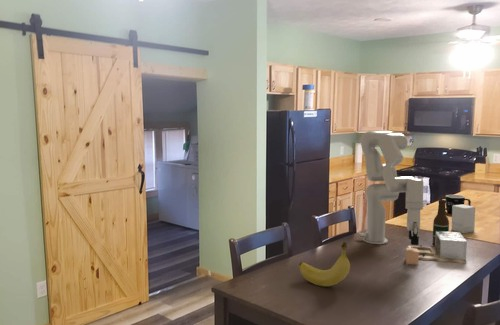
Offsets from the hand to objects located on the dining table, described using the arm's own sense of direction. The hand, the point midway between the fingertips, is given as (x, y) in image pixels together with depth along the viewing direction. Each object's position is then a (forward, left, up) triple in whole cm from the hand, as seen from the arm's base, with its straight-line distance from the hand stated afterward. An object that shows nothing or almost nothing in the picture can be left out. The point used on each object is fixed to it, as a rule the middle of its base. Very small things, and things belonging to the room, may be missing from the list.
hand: (413, 242), depth 192 cm
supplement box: (+34, +66, -10) cm, 74 cm away
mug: (+38, +115, -10) cm, 121 cm away
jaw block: (0, +1, -10) cm, 10 cm away
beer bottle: (+17, +34, -10) cm, 39 cm away
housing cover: (+18, +15, -9) cm, 25 cm away
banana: (-37, -37, -10) cm, 54 cm away
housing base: (+12, +15, -10) cm, 21 cm away
